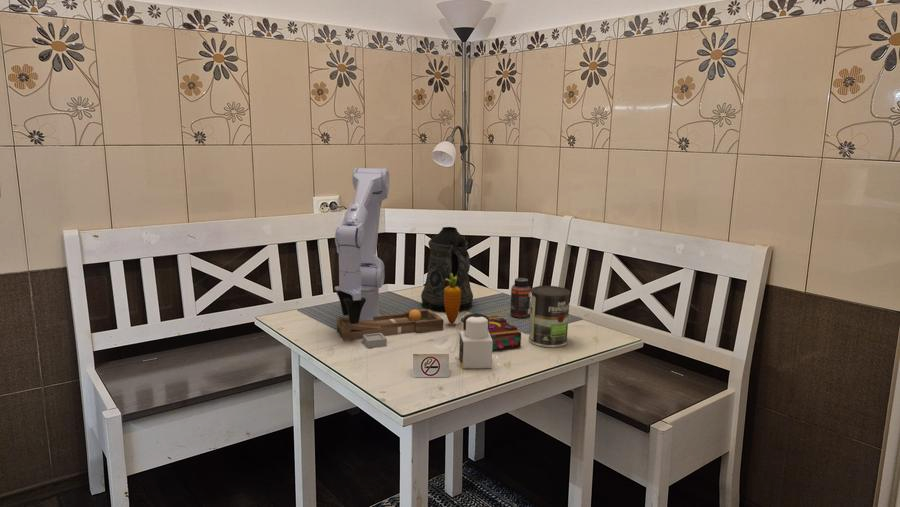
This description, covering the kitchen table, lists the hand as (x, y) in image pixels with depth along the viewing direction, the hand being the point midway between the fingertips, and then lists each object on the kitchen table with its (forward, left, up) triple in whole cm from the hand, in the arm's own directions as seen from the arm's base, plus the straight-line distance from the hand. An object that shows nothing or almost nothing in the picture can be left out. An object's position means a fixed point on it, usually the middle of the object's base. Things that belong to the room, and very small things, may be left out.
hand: (350, 319), depth 164 cm
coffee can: (+23, +48, -5) cm, 53 cm away
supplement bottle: (+1, +52, -5) cm, 52 cm away
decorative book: (+18, +34, -5) cm, 38 cm away
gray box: (+9, +4, -4) cm, 11 cm away
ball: (0, +19, -1) cm, 19 cm away
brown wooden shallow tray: (0, +11, -4) cm, 12 cm away
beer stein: (-15, +36, -5) cm, 39 cm away
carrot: (+2, +29, -5) cm, 29 cm away
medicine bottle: (+30, +23, -5) cm, 38 cm away
